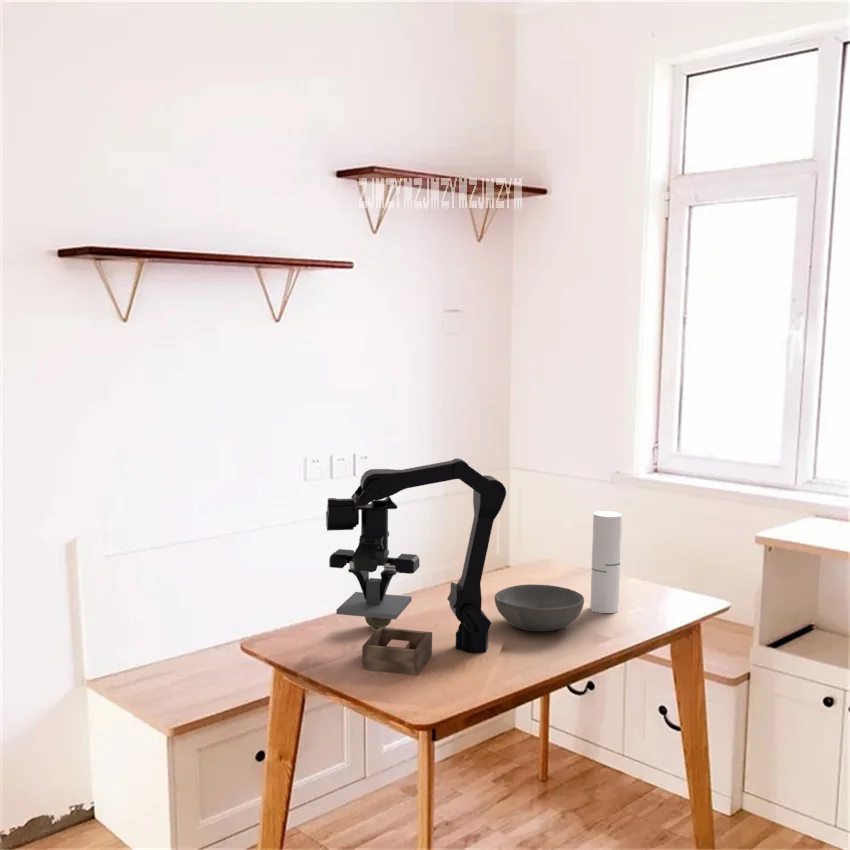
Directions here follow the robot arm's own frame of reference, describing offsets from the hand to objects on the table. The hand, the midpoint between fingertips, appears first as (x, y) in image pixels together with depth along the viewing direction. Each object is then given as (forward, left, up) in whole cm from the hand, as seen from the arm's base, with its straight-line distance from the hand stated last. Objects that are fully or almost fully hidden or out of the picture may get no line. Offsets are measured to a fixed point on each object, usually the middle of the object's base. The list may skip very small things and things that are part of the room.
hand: (374, 599), depth 191 cm
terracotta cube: (-6, +3, -12) cm, 14 cm away
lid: (0, -1, -2) cm, 2 cm away
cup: (+4, -16, -13) cm, 21 cm away
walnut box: (-6, +3, -13) cm, 15 cm away
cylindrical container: (-47, -48, -13) cm, 69 cm away
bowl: (-32, -30, -13) cm, 46 cm away
